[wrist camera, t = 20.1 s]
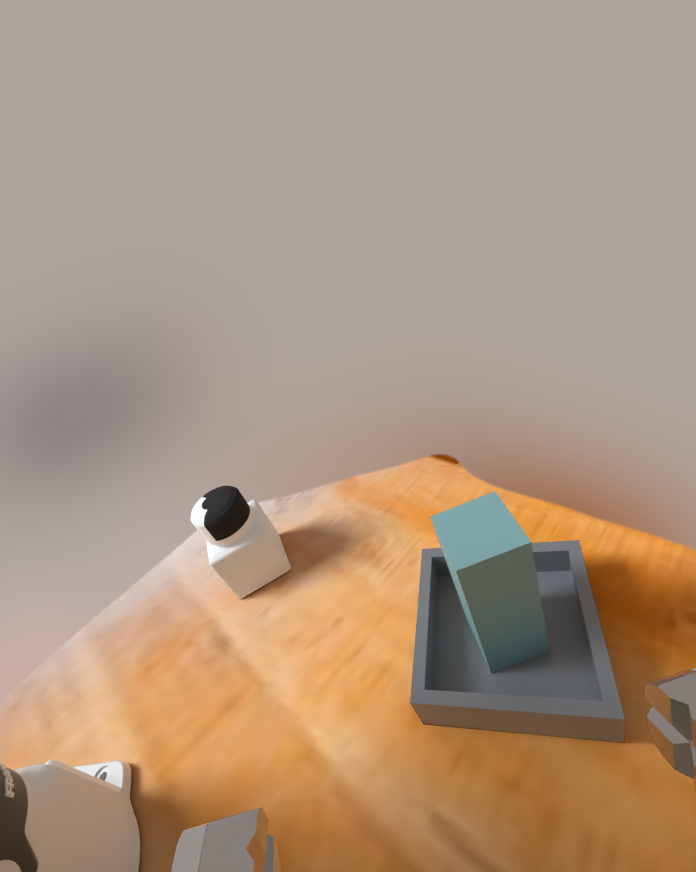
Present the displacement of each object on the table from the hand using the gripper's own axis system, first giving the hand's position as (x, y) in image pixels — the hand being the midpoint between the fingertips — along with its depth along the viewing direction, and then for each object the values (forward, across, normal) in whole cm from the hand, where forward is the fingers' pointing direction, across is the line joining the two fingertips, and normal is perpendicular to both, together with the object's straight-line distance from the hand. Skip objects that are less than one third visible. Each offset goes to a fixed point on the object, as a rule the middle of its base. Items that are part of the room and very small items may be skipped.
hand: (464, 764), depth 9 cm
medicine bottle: (+45, +12, +17) cm, 49 cm away
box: (+24, -11, +19) cm, 33 cm away
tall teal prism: (+24, -10, +18) cm, 32 cm away
